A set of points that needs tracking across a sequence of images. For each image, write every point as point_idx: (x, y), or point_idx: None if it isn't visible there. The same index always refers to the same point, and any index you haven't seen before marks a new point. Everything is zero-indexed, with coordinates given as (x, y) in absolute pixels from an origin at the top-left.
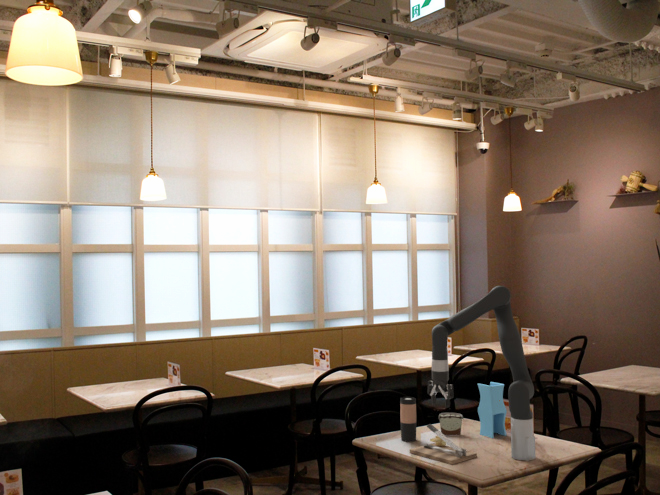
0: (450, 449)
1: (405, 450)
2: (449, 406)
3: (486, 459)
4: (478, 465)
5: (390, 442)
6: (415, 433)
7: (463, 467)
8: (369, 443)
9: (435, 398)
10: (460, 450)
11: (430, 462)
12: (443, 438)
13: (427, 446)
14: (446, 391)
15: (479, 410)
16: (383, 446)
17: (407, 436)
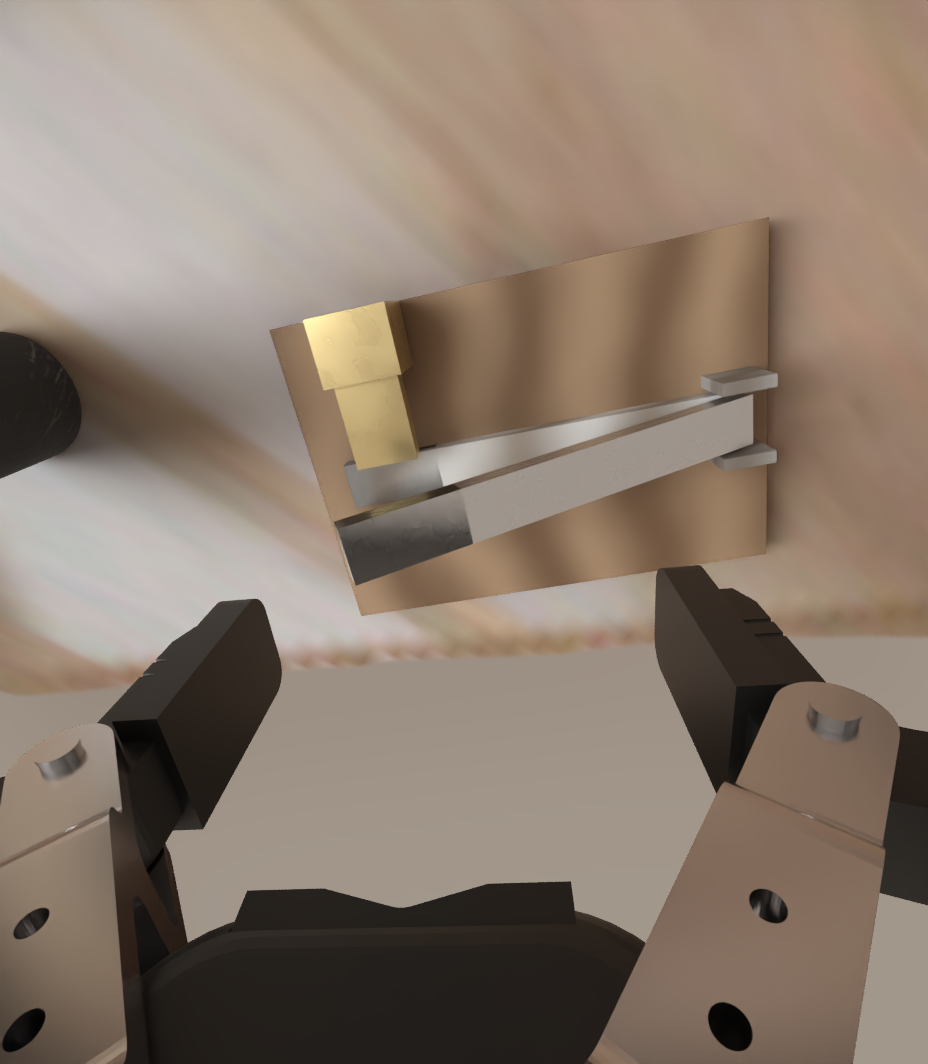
0: (521, 351)
1: (300, 591)
2: (697, 571)
3: (868, 196)
4: (918, 392)
5: (64, 558)
6: (14, 373)
7: (859, 520)
8: (55, 678)
9: (200, 692)
10: (743, 422)
11: (624, 623)
12: (579, 503)
13: (394, 500)
14: (716, 930)
15: None
16: (153, 649)
17: (45, 452)
